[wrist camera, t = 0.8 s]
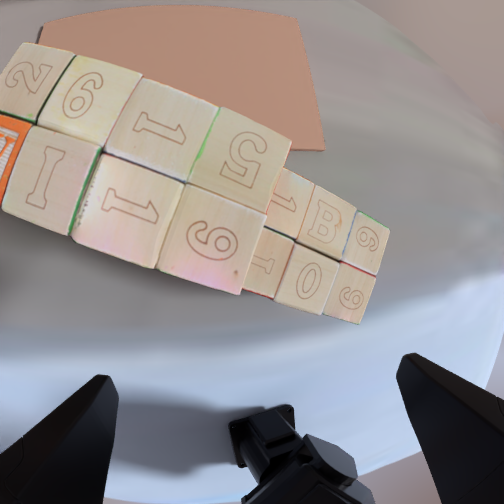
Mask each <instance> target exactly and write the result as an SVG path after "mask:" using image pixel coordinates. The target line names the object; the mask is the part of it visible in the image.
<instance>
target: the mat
mask: <svg viewBox="0 0 504 504" xmlns="http://www.w3.org/2000/svg"><path fill="white" fill-rule="evenodd" d="M38 44H40V45H45V46H50V47H54V48H59V49H63V50H67V51H71V52H73V53H74V54H76V56H78V55H82V56H86V57H90V58H93V59H97V60H101V61H104V62H108V63H111V64H114V65H117V66H121V67H124V68H127V69H130V70H133V71H135V72H138V73H141V74H142V75H143V76H144V78H149V79H152V80H155V81H158V82H161V83H164V84H166V85H169V86H171V87H174V88H176V89H179V90H182V91H185V92H187V93H190V94H192V95H195V96H197V97H199V98H202V99H204V100H206V101H208V102H210V103H212V104H214V105H216V106H218V107H226V108H228V109H230V110H232V111H234V112H237V113H239V114H241V115H243V116H245V117H247V118H249V119H251V120H253V121H255V122H257V123H259V124H261V125H263V126H265V127H267V128H269V129H271V130H273V131H275V132H277V133H279V134H281V135H283V136H285V137H286V138H288V139H290V140H292V146H291V149H290V150H291V151H324V150H326V149H325V143H324V137H323V132H322V126H321V121H320V115H319V110H318V105H317V100H316V95H315V90H314V86H313V81H312V77H311V72H310V68H309V64H308V60H307V56H306V51H305V48H304V44H303V40H302V36H301V32H300V29H299V25H298V21H297V19H296V18H292V17H287V16H282V15H277V14H272V13H266V12H260V11H253V10H246V9H237V8H228V7H216V6H199V5H156V6H139V7H128V8H118V9H110V10H103V11H97V12H91V13H86V14H80V15H76V16H71V17H66V18H62V19H58V20H54V21H50V22H47V23H44V26H43V30H42V33H41V36H40V39H39V43H38Z"/></svg>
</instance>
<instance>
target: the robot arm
mask: <svg viewBox="0 0 504 504" xmlns="http://www.w3.org/2000/svg"><path fill="white" fill-rule="evenodd" d="M396 379H397V383H398V386H399V389H400V392H401V395H402V398H403V401H404V405H405V408H406V411H407V414H408V417H409V419H410V422H411V424H412V427H413V429H414V431H415V434H416V436H417V439H418V441H419V444H420V446H421V449H422V451H423V454H424V456H425V459H426V461H427V464H428V466H429V469H430V472H431V474H432V477H433V480H434V483H435V486H436V488H437V491H438V494H439V497H440V500H441V503H442V504H504V400H503V399H501V398H499V397H496V396H495V395H493V394H491V393H489V392H488V391H486V390H484V389H482V388H480V387H478V386H476V385H474V384H473V383H471V382H469V381H467V380H465V379H463V378H461V377H459V376H458V375H456V374H454V373H452V372H450V371H448V370H446V369H445V368H443V367H441V366H439V365H437V364H435V363H433V362H432V361H430V360H428V359H426V358H424V357H422V356H420V355H419V354H417V353H410V354H406V355H404V356H403V357H402V360H401V362H400V365H399V368H398V370H397V373H396ZM118 401H119V396H118V392H117V390H116V388H115V386H114V384H113V381H112V379H111V377H110V376H108V375H100V374H98V375H96V376H94V377H93V378H92V379H91V380H89V381H88V382H87V383H86V384H85V385H83V386H82V387H81V388H80V389H79V390H77V391H76V392H75V393H74V394H73V395H71V396H70V397H69V398H68V399H67V400H65V401H64V402H63V403H62V404H61V405H59V406H58V407H57V408H56V409H55V410H53V411H52V412H51V413H50V414H49V415H47V416H46V417H45V418H44V419H43V420H41V421H40V422H39V423H38V424H37V425H35V426H34V427H33V428H32V429H31V430H29V431H28V432H27V433H26V434H25V435H23V437H21V438H20V439H19V440H17V441H16V442H15V443H14V444H13V445H11V446H10V447H9V448H8V449H6V450H5V451H4V452H2V453H1V454H0V504H103V498H104V492H105V486H106V480H107V474H108V469H109V464H110V459H111V454H112V449H113V444H114V437H115V427H116V418H117V409H118ZM288 409H289V410H288ZM287 410H288V411H287ZM233 426H235V427H234V428H232V427H233ZM228 429H229V433H230V438H231V442H232V446H233V451H234V455H235V459H236V463H237V465H238V467H239V468H244V467H248V468H249V470H250V472H251V473H252V475H253V477H254V478H255V480H256V482H257V483H258V486H257V487H255V488H254V489H253V490H252V491H251V492H250V493H249V494H248V495H245V496H244V497H243V498H242V499H241V502H242V504H375V501H374V498H373V495H372V492H371V490H370V489H368V488H367V487H366V486H364V485H363V484H362V483H360V482H359V481H358V480H356V479H357V478H358V475H357V470H356V465H355V461H354V458H353V457H352V456H350V455H349V454H348V453H346V452H345V451H344V450H342V449H341V448H340V447H338V446H337V445H334V444H331V443H329V442H326V441H324V440H321V439H319V438H316V437H314V436H311V435H309V434H306V435H305V436H304V437H303V438H302V437H301V436H300V435H299V434H298V433H297V432H296V431H295V419H294V408H293V407H292V406H291V405H286V406H283V407H280V408H277V409H274V410H271V411H267V412H264V413H261V414H258V415H254V416H251V417H247V418H244V419H240V420H237V421H233V422H231V423H229V425H228ZM242 463H243V464H242Z"/></svg>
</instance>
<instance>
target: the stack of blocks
mask: <svg viewBox="0 0 504 504" xmlns="http://www.w3.org/2000/svg"><path fill="white" fill-rule="evenodd" d="M291 146H292V140H290V139H288V138H286V137H285V136H283V135H281V134H279V133H277V132H275V131H273V130H271V129H269V128H267V127H265V126H263V125H261V124H259V123H257V122H255V121H253V120H251V119H249V118H247V117H245V116H243V115H241V114H239V113H237V112H234V111H232V110H230V109H228V108H226V107H218V106H216V105H214V104H212V103H210V102H208V101H206V100H204V99H202V98H199V97H197V96H195V95H192V94H190V93H187V92H185V91H182V90H179V89H176V88H174V87H171V86H169V85H166V84H164V83H161V82H158V81H155V80H152V79H149V78H144V76H143V75H142V74H141V73H138V72H135V71H133V70H130V69H127V68H124V67H121V66H117V65H114V64H111V63H108V62H104V61H101V60H97V59H93V58H90V57H86V56H82V55H78V56H76V54H74V53H73V52H71V51H67V50H63V49H59V48H54V47H50V46H45V45H40V44H35V43H30V42H24V43H23V44H21V45H20V47H19V48H18V50H17V51H16V52H15V54H14V55H13V57H12V58H11V60H10V61H9V63H8V64H7V66H6V67H5V69H4V70H3V72H2V74H1V75H0V207H2V210H3V211H4V212H6V213H9V214H11V215H14V216H16V217H18V218H21V219H24V220H26V221H28V222H31V223H33V224H36V225H38V226H41V227H43V228H46V229H49V230H51V231H54V232H57V233H59V234H62V235H66V236H71V237H72V239H73V241H74V242H76V243H77V244H80V245H83V246H86V247H88V248H91V249H94V250H97V251H100V252H103V253H105V254H108V255H110V256H113V257H116V258H119V259H122V260H125V261H128V262H131V263H133V264H136V265H139V266H142V267H146V268H151V269H157V270H159V271H161V272H163V273H166V274H169V275H172V276H175V277H178V278H182V279H185V280H188V281H191V282H194V283H197V284H201V285H204V286H207V287H210V288H213V289H217V290H220V291H224V292H227V293H230V294H233V295H240V292H241V289H244V290H247V291H250V292H253V293H256V294H259V295H262V296H265V297H267V298H269V299H270V300H272V301H273V302H277V303H280V304H283V305H286V306H289V307H292V308H295V309H298V310H302V311H305V312H309V313H312V314H316V315H321V314H324V315H327V316H330V317H334V318H337V319H340V320H344V321H347V322H350V323H354V324H357V325H358V324H360V321H361V319H362V317H363V314H364V311H365V308H366V306H367V303H368V300H369V298H370V295H371V292H372V289H373V287H374V284H375V281H376V274H377V272H378V269H379V266H380V263H381V260H382V257H383V254H384V250H385V247H386V243H387V240H388V236H389V233H390V229H389V228H388V227H386V226H384V225H382V224H381V223H379V222H378V221H376V220H374V219H373V218H371V217H370V216H368V215H366V214H364V213H363V212H361V211H358V210H357V209H356V207H354V206H353V205H351V204H349V203H348V202H346V201H344V200H343V199H341V198H339V197H337V196H336V195H334V194H332V193H330V192H328V191H327V190H325V189H323V188H322V187H320V186H318V185H315V184H314V183H313V182H311V181H310V180H308V179H306V178H304V177H302V176H300V175H298V174H296V173H295V172H292V171H290V170H288V169H286V168H284V164H285V162H286V159H287V157H288V154H289V152H290V149H291Z"/></svg>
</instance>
